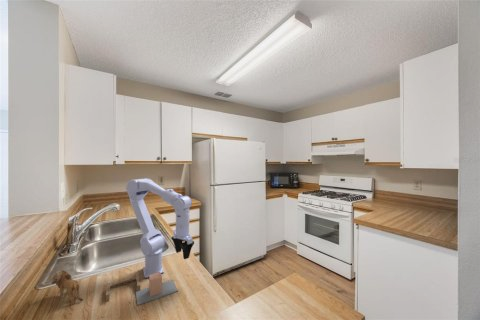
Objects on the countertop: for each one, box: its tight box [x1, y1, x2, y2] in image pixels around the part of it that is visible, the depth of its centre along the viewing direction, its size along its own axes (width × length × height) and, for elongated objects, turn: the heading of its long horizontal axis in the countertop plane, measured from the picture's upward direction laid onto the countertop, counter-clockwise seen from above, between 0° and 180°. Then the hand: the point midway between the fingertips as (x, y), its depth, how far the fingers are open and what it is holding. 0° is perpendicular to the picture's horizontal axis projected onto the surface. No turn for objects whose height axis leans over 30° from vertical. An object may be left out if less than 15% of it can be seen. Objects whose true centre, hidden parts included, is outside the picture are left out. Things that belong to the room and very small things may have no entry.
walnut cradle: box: [105, 274, 141, 303], centre depth 76 cm, size 9×11×2 cm
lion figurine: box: [49, 270, 84, 306], centre depth 71 cm, size 15×5×9 cm, turn 74°
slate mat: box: [135, 279, 178, 306], centre depth 74 cm, size 8×14×1 cm, turn 122°
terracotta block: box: [148, 272, 163, 296], centre depth 74 cm, size 4×4×6 cm
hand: (182, 255), depth 84 cm, fingers open, 7 cm apart
